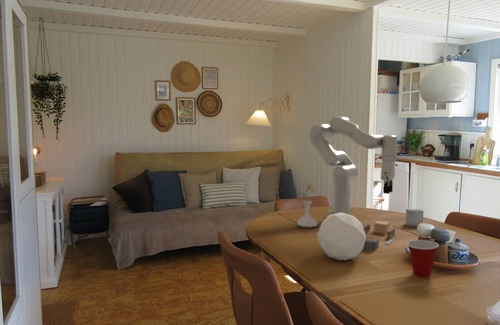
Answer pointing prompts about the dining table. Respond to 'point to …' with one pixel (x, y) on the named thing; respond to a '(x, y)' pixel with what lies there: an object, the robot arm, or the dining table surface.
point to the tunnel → (389, 233)
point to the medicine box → (414, 217)
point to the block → (381, 227)
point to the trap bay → (371, 245)
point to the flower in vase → (307, 210)
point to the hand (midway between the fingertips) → (387, 192)
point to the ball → (341, 236)
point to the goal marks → (389, 241)
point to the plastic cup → (422, 256)
